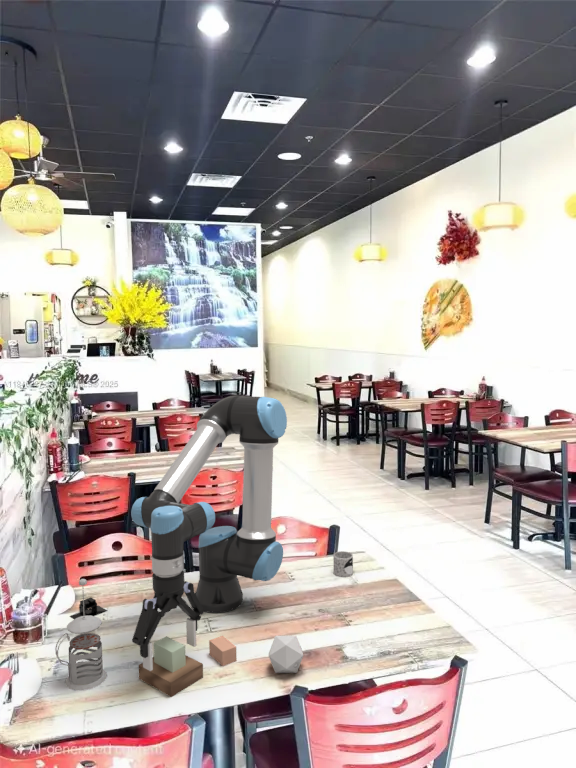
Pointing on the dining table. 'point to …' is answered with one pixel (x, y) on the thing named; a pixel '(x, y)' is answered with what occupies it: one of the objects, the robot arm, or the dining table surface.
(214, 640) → the terracotta brick
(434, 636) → the dining table surface
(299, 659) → the die
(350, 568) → the mug
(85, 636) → the french press
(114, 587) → the dining table surface
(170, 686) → the walnut slab
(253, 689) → the dining table surface
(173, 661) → the sage brick
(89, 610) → the black angular piece
